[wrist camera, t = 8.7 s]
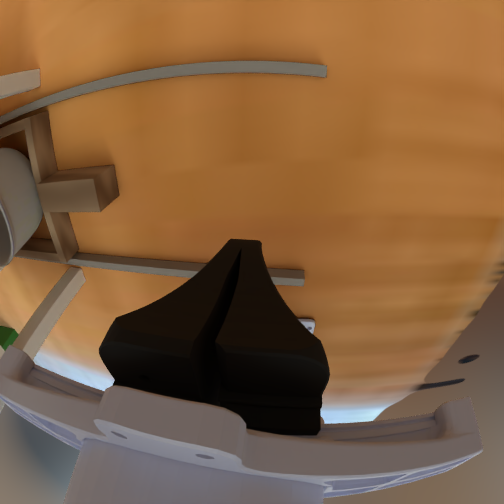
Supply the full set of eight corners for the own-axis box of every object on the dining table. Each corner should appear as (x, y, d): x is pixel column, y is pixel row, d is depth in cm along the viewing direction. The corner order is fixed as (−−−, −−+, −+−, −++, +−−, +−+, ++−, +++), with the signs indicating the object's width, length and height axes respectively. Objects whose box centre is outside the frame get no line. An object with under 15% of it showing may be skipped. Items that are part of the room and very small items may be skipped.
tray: (132, 253, 26) (118, 273, 23) (-3, 241, 28) (-16, 254, 25) (106, 94, 17) (82, 99, 15) (-30, 143, 19) (-47, 153, 16)
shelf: (298, 303, 27) (298, 462, 14) (0, 264, 30) (-55, 332, 18) (325, 25, 13) (430, -87, 1) (-42, 118, 17) (-123, 167, 4)
